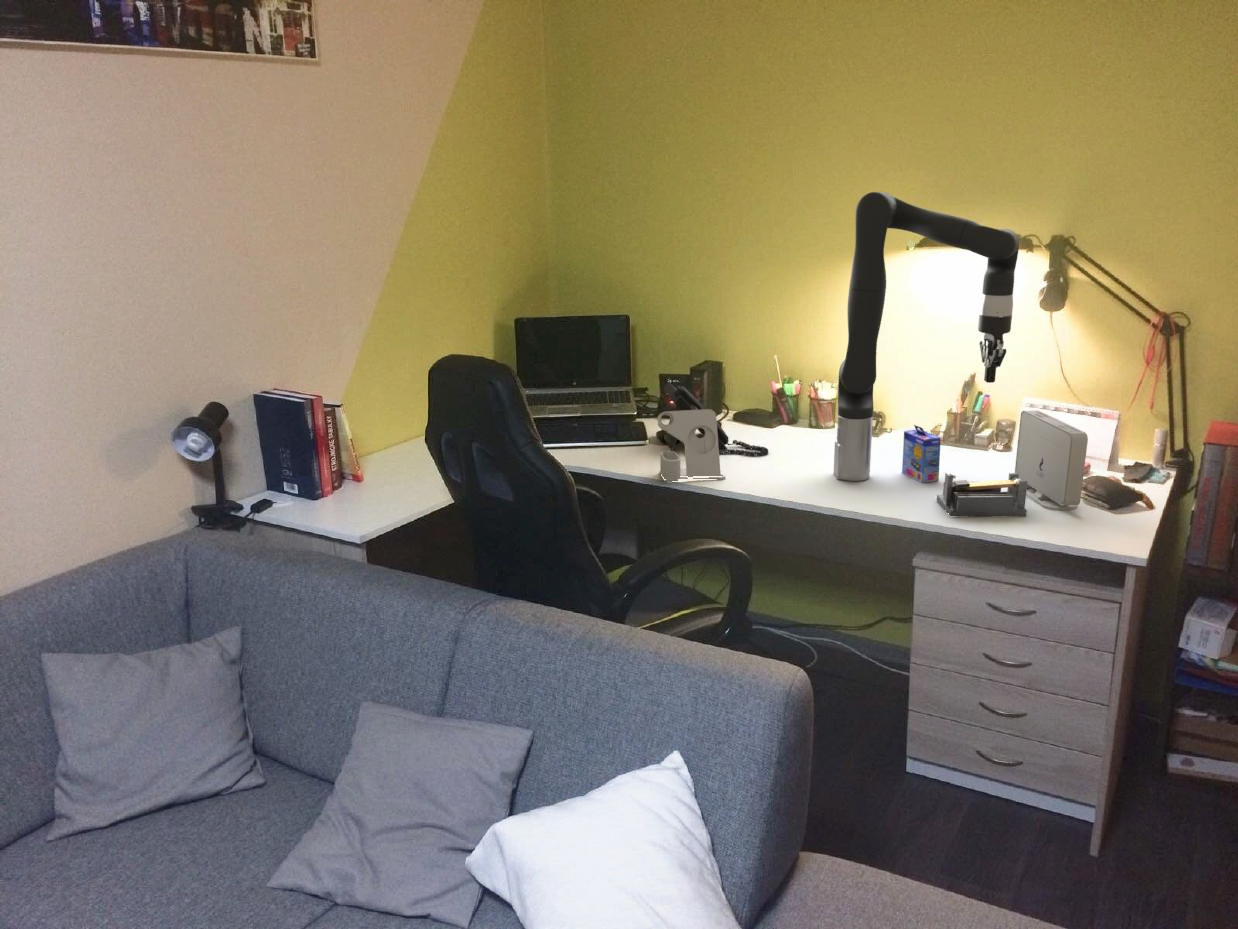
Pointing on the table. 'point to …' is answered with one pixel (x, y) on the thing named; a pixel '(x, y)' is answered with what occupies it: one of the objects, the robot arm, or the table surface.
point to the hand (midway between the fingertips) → (989, 381)
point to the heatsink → (983, 500)
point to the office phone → (684, 402)
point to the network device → (1051, 459)
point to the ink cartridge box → (921, 455)
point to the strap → (985, 484)
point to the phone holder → (691, 445)
